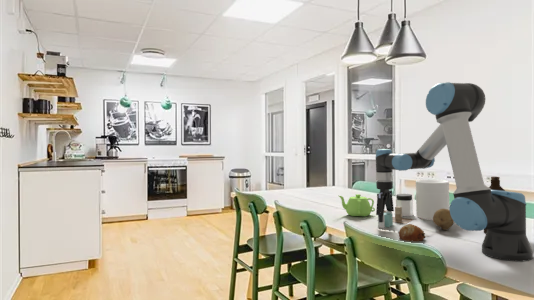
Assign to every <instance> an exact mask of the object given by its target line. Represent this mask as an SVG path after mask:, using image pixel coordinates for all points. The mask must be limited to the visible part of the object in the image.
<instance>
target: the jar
mask: <svg viewBox="0 0 534 300" xmlns="http://www.w3.org/2000/svg"><path fill="white" fill-rule="evenodd" d="M395 197H396V199H395V207H396V206H398V207H402V217H411V216H414V199H413V194H410V193H396V196H395Z"/></svg>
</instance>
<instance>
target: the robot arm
mask: <svg viewBox="0 0 534 300" xmlns="http://www.w3.org/2000/svg"><path fill="white" fill-rule="evenodd" d="M485 104H486V95H485V92H484V90H483V89H482V87H480V86H479V85H477V84H475V83H470V82H469V83H467V82H465V83H463V82H462V83H461V82H450V81H448V82H447V81H446V82H440V83H437V84H434V85H433V86H432V87H431V88H430V89H429V91H428V93H427V95H426V99H425V107H426V110H427V111H428V112H429V113H430V114H432V115H433V116H435V119H436V122H437V123H438V124H439V125H438V126H437V127H436V129H435V130H434V131H433V132H432V134H430V135H429V136H428V137H427V139H426V140H425V141H424V143H423V144H422V145H421V146H420V147H419V148H418V149H417V151H415V152H407V153H393V152H392V149H390V148H389V149H388V148H386V149H384V148H383V149H376V151H375V173H376V174H375V179H376V189H377V190H379V193H377V194H376V198H377V199H376V209H375V210H376V211H375V215H376V216H377V223H378V222H379V226H378V229H380V230H382V229H385V228H386V227H385V217H384V210H387V211H386V213H392V214H393V212H395V207H394V201H393V200H394V199H393V188H394V185H393V183H394V182H393V181H392V180H393V177H394V174H393V170H394V171H399V172H400V171H408V170H417V169H419V170H422V169H424V170H425V169H429V168H432V167H433V166H434V164H435V162H436V159H435V158H436V157H437V155H439V153H440V152H441V151H442V150H443V149H444V148H445V147H447V152H448V157H449V160H450V164H451V169H452V174H453V177H454V182H455V185H456V189H455V190H454V192H453V197H454V199H452V201H450V204H449V210H450V215H451V217H452V219H453V221H454V223H455V224H456V225H457V226H459V228H461V229H462V230H465V231H470V232H471V231H472V232H473V231H475V232H478V231H484V229H487V233H485V236H484V239H483V240H482V241H483V242H482V244H481V252H482V253H483V254H484V255H486V256H488V257H491V258H495V259H497V260H505V261H512V262H527V261H531V260H533V259H534V257H533V256H534V253H533V249H532V247H531V244H530V242H529V239H528V237H527V215H526V214H527V211H526V210H527V203H526V196H525V194H524V193H522V192H517V191H509V190H508V191H507V190H505V191H501V190H491V189H490V188H489V187H490V186H487V185H485V183H484V179H483V174H482V169H481V167H480V162H479V158H478V154H477V150H476V146H475V143H474V139H473V138H474V137H473V135H472V130H471V126H470V123H472V122H474V120H475V119H476V118H478V116H479V115H480V113H481V112H482V111H483V109H484V107H485Z"/></svg>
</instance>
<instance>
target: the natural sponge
mask: <svg viewBox="0 0 534 300" xmlns="http://www.w3.org/2000/svg"><path fill="white" fill-rule="evenodd" d="M432 222H433V223H434V224H435V225H436V226H437V227H439V228H440V229H442V230H443V231H449V229H450V228H452V227H453V225H454V223H455V222H454V221H453V219H452V217H451V215H450V210H448V209H439V210H437V211H436V212H435V213H434V216H433V220H432Z"/></svg>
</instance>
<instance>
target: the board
mask: <svg viewBox="0 0 534 300" xmlns="http://www.w3.org/2000/svg"><path fill="white" fill-rule="evenodd" d="M413 220H414V218H406V217H402V221H395V216H393V223H395V224H397V223H398V224H404V225H407V224H410V222H412V221H413Z"/></svg>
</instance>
